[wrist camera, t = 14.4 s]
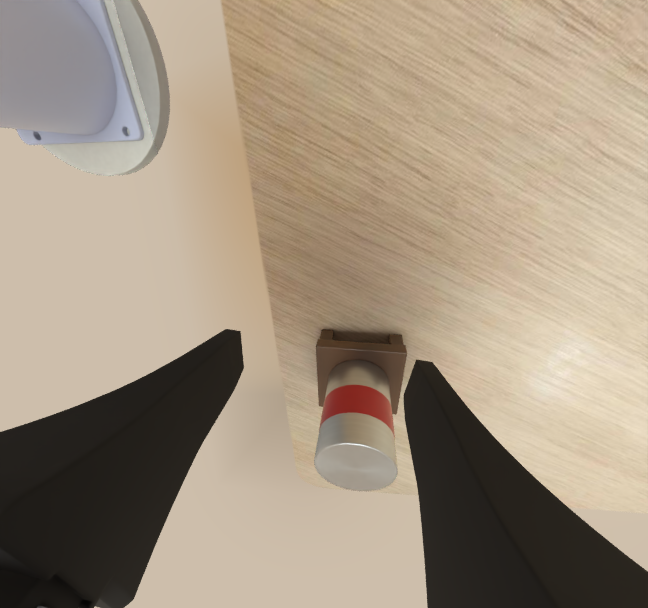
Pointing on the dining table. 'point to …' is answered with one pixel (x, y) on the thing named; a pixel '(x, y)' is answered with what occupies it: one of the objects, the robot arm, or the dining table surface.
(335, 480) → the can
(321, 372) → the stool
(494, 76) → the dining table surface
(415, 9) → the dining table surface
